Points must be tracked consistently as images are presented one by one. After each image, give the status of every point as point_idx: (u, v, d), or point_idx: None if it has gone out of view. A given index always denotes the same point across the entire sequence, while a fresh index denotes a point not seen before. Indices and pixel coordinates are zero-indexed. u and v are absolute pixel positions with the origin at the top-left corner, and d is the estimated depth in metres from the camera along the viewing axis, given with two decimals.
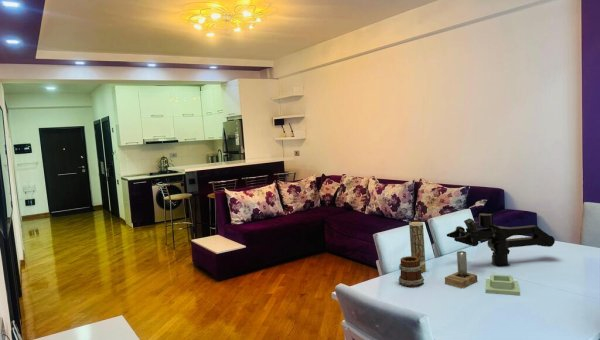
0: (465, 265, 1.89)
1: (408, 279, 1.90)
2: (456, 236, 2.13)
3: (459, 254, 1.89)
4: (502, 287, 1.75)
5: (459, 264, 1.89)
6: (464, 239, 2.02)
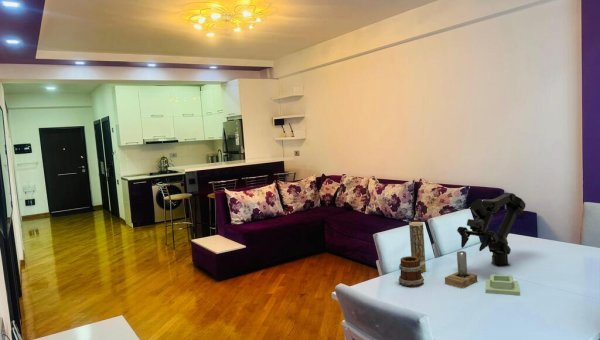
0: (465, 265, 1.89)
1: (408, 279, 1.90)
2: (466, 239, 2.01)
3: (459, 254, 1.89)
4: (502, 287, 1.75)
5: (459, 264, 1.89)
6: (485, 242, 1.92)
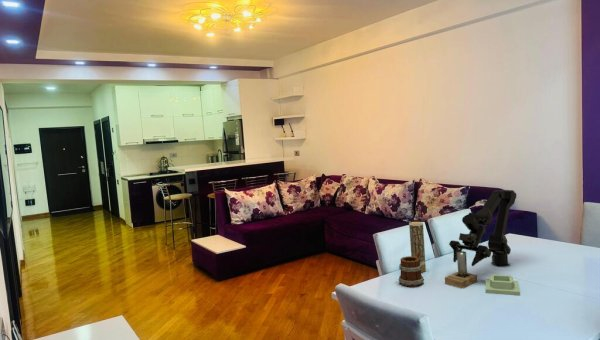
0: (465, 265, 1.89)
1: (408, 279, 1.90)
2: None
3: (459, 254, 1.89)
4: (502, 287, 1.75)
5: (459, 264, 1.89)
6: (478, 257, 1.88)
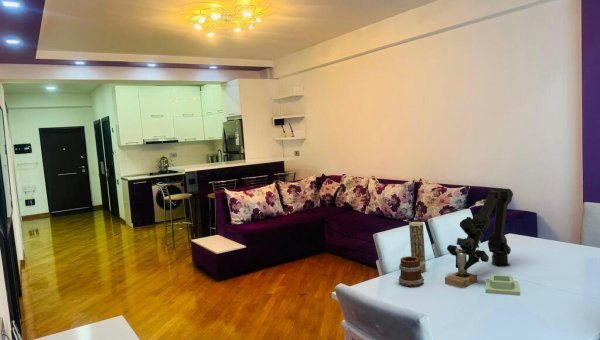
0: None
1: (408, 279, 1.90)
2: None
3: (459, 254, 1.89)
4: (502, 287, 1.75)
5: (459, 264, 1.89)
6: (471, 261, 1.89)
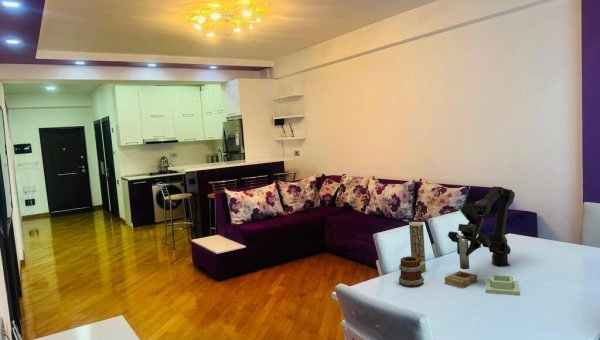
0: None
1: (408, 279, 1.90)
2: None
3: (461, 240, 1.87)
4: (502, 287, 1.75)
5: (461, 250, 1.88)
6: (472, 247, 1.87)
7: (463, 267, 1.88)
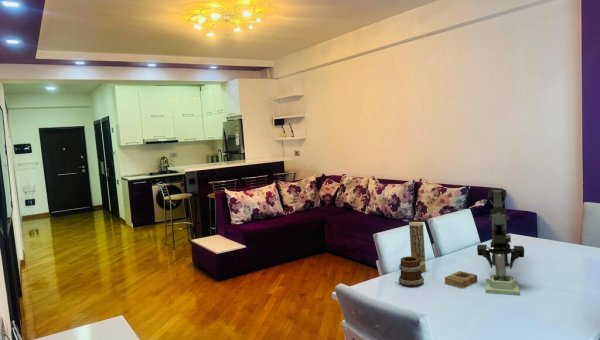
0: (505, 267, 1.78)
1: (408, 279, 1.90)
2: None
3: (500, 256, 1.76)
4: (502, 287, 1.75)
5: (500, 267, 1.77)
6: None
7: None
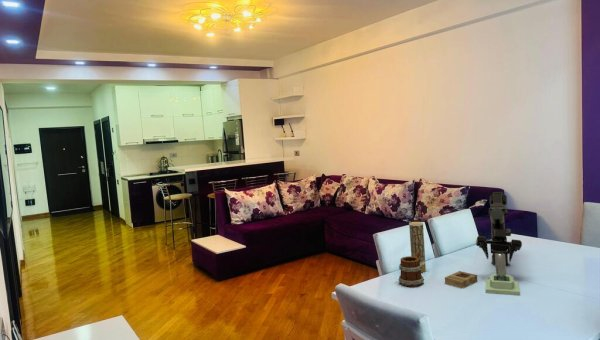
0: (505, 267, 1.78)
1: (408, 279, 1.90)
2: None
3: (500, 256, 1.77)
4: (502, 287, 1.75)
5: (500, 266, 1.77)
6: None
7: None
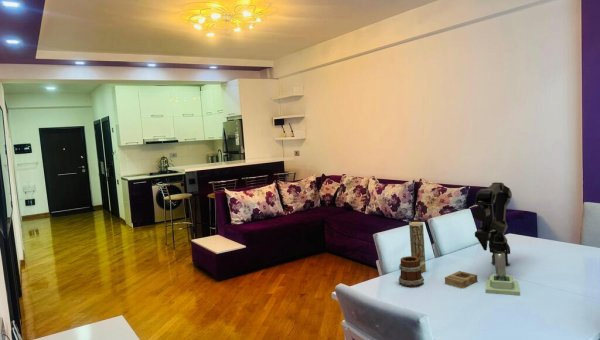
0: (505, 266, 1.78)
1: (408, 279, 1.90)
2: None
3: (500, 256, 1.77)
4: (502, 287, 1.75)
5: (500, 266, 1.77)
6: None
7: None
